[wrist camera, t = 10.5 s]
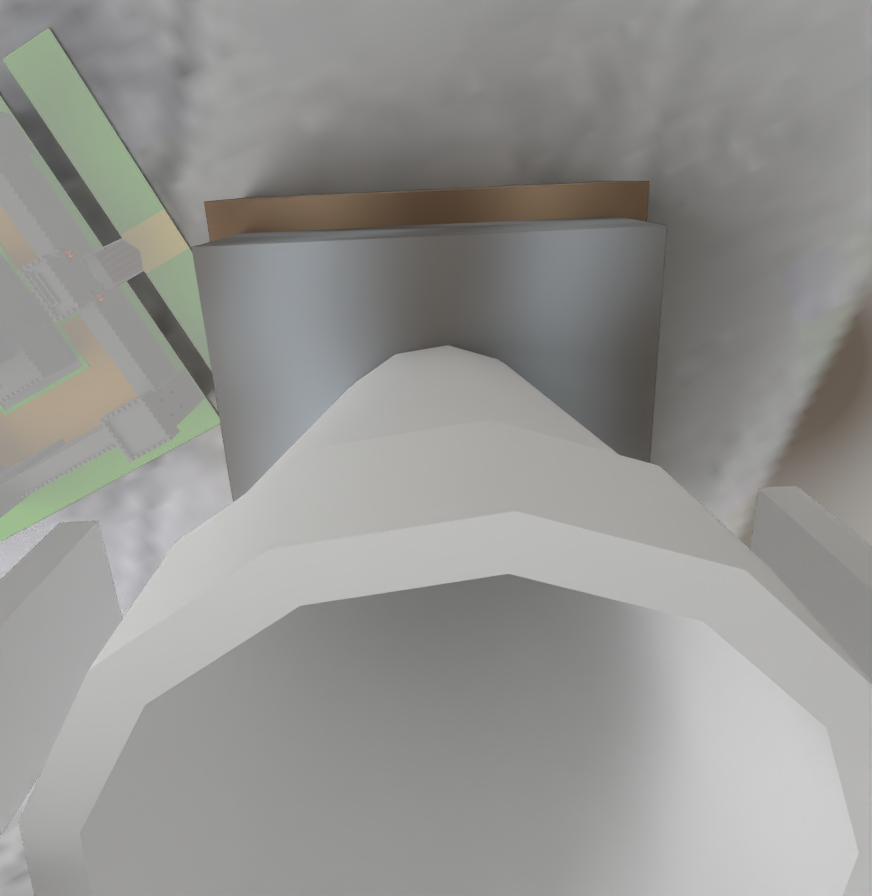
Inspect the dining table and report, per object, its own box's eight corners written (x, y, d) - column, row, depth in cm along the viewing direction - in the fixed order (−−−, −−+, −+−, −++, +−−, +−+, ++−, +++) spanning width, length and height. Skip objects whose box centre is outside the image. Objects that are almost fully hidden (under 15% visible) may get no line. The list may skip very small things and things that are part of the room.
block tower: (287, 525, 32) (229, 670, 22) (243, 197, 26) (144, 207, 17) (595, 511, 31) (666, 650, 22) (609, 181, 26) (710, 180, 17)
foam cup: (580, 604, 22) (784, 1155, 9) (279, 592, 21) (89, 1149, 9) (629, 295, 18) (1050, 534, 6) (271, 274, 18) (-55, 485, 6)
